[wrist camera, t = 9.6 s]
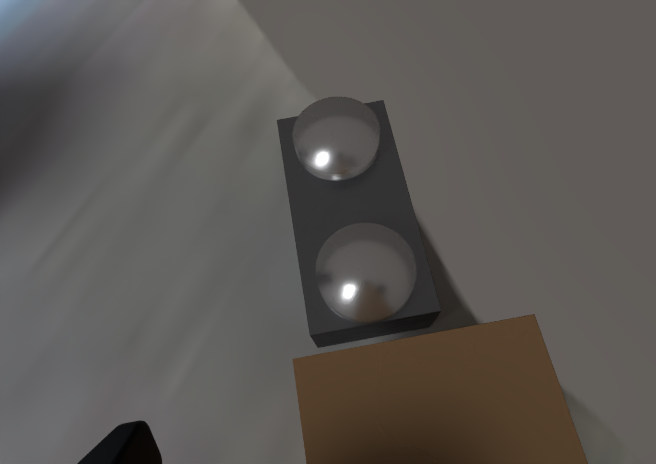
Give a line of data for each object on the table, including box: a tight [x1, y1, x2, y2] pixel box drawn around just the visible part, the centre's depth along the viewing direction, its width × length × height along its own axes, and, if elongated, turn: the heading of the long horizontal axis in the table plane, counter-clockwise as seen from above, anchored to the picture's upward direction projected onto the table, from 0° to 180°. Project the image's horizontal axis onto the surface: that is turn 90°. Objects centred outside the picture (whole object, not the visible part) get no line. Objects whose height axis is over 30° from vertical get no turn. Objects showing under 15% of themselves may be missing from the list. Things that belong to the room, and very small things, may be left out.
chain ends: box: [277, 97, 441, 348], centre depth 13 cm, size 23×4×3 cm, turn 10°
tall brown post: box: [293, 314, 588, 464], centre depth 10 cm, size 4×3×10 cm
